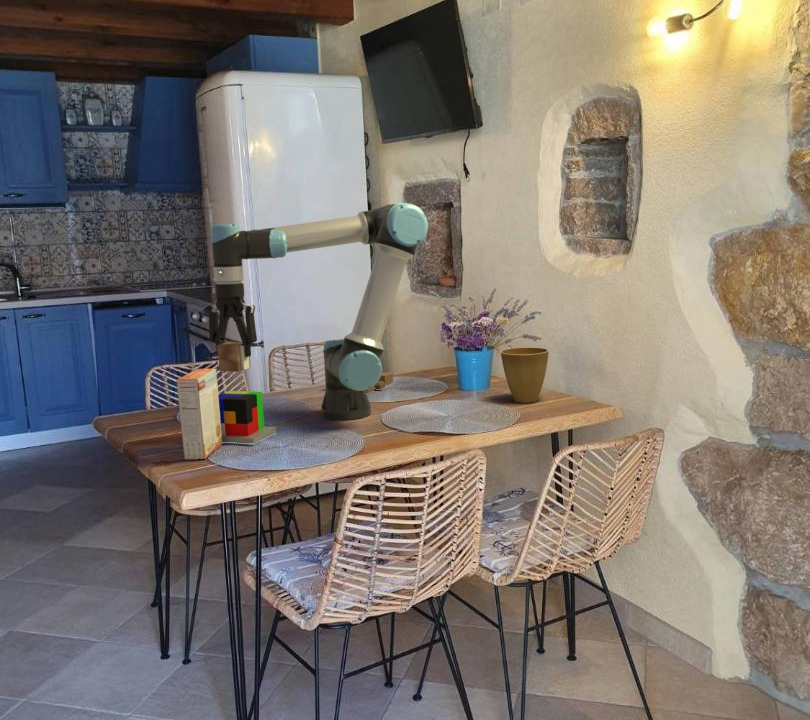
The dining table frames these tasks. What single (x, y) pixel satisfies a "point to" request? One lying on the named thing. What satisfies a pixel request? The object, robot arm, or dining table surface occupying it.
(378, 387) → the wooden block set
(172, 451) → the dining table surface
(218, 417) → the cracker box
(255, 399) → the puzzle toy
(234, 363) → the walnut block
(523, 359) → the plant pot
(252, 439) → the slate tile
